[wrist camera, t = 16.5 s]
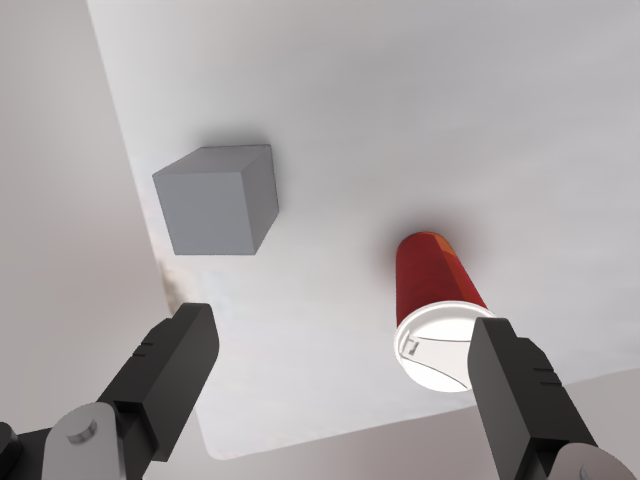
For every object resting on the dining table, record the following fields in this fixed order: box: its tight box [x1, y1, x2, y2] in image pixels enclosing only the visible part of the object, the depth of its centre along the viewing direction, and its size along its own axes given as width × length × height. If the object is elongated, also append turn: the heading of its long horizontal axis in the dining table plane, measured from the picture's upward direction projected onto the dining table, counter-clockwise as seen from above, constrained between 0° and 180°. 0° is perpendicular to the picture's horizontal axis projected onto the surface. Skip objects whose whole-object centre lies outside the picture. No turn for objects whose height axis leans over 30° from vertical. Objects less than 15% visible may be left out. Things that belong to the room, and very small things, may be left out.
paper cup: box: [393, 232, 497, 392], centre depth 30 cm, size 8×8×14 cm
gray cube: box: [152, 145, 279, 255], centre depth 31 cm, size 7×7×9 cm
